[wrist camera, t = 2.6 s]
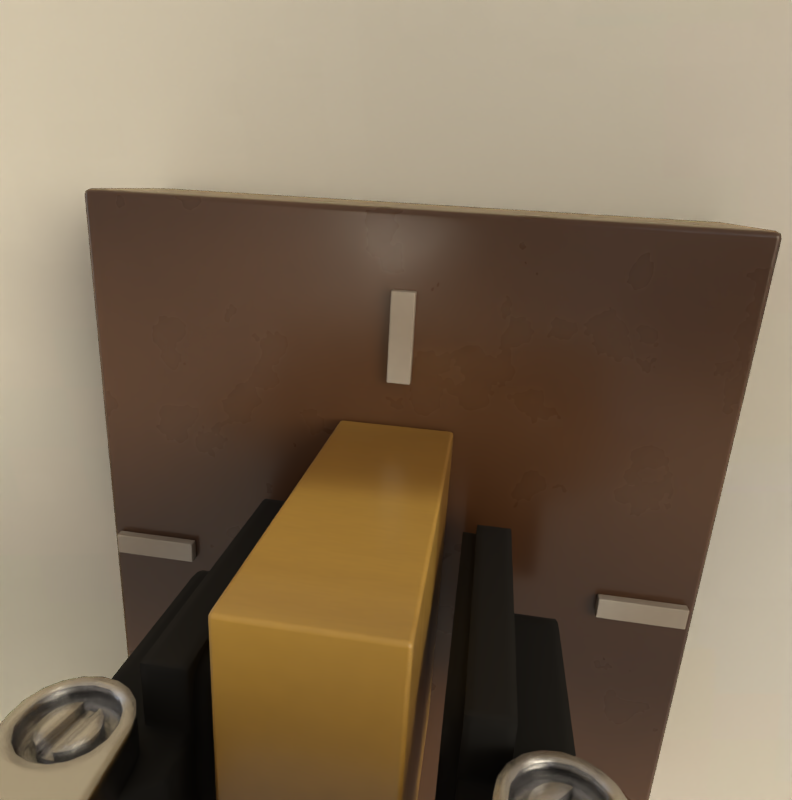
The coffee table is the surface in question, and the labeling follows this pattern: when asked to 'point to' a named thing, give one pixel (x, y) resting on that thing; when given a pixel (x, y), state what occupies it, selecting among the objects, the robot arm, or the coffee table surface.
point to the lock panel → (440, 404)
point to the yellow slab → (335, 626)
